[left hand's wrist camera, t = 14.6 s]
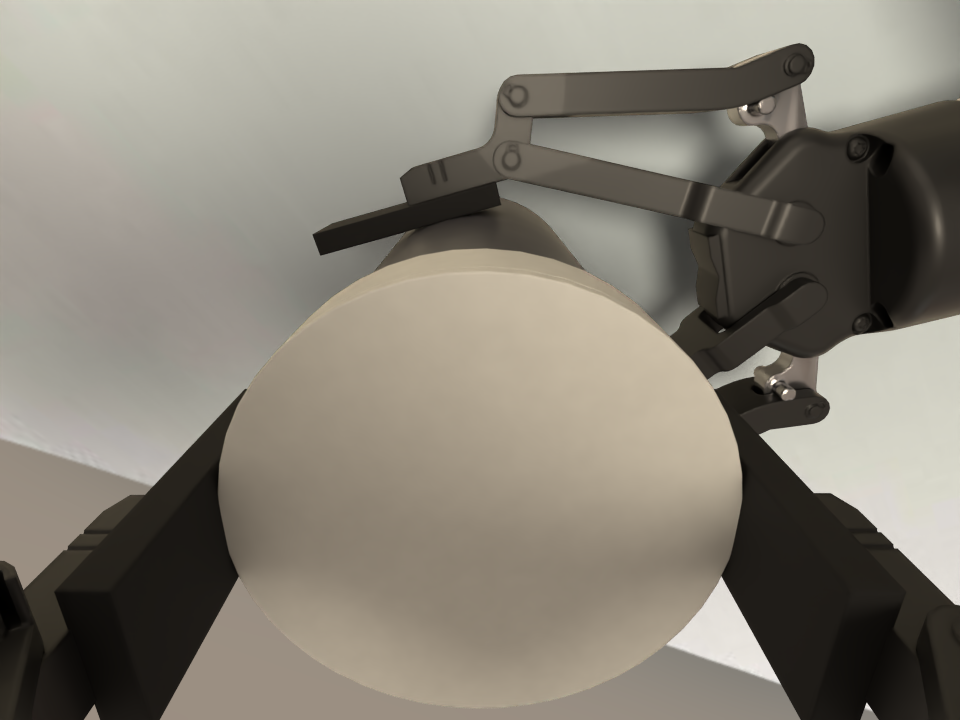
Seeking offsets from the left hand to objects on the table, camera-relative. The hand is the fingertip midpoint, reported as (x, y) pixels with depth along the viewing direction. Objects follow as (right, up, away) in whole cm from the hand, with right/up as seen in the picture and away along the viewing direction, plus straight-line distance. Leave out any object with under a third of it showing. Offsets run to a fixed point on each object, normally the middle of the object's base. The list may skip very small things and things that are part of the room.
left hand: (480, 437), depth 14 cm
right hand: (-4, +2, +8) cm, 10 cm away
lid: (0, -1, -3) cm, 3 cm away
